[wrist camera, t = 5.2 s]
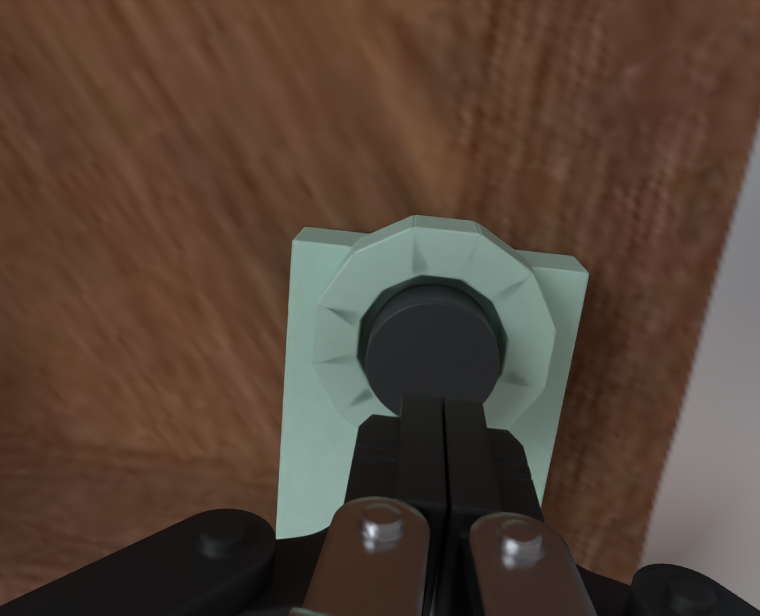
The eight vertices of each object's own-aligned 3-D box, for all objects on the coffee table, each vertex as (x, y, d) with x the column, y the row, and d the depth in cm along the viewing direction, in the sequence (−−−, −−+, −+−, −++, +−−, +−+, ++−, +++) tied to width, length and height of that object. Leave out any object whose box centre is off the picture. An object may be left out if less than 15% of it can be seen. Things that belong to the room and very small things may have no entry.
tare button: (376, 275, 17) (371, 294, 15) (502, 290, 17) (510, 309, 15) (364, 390, 18) (359, 417, 16) (483, 404, 18) (489, 433, 16)
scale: (306, 190, 19) (281, 211, 16) (581, 220, 19) (615, 248, 16) (283, 558, 23) (260, 636, 20) (509, 586, 23) (523, 670, 20)
